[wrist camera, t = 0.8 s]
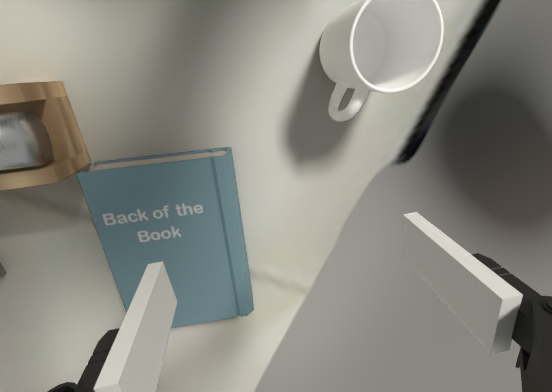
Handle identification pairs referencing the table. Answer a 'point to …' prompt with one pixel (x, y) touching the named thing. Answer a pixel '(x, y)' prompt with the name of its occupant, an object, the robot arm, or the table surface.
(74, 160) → the beam
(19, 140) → the axle
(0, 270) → the v block
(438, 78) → the table surface
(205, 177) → the book
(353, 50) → the cup
